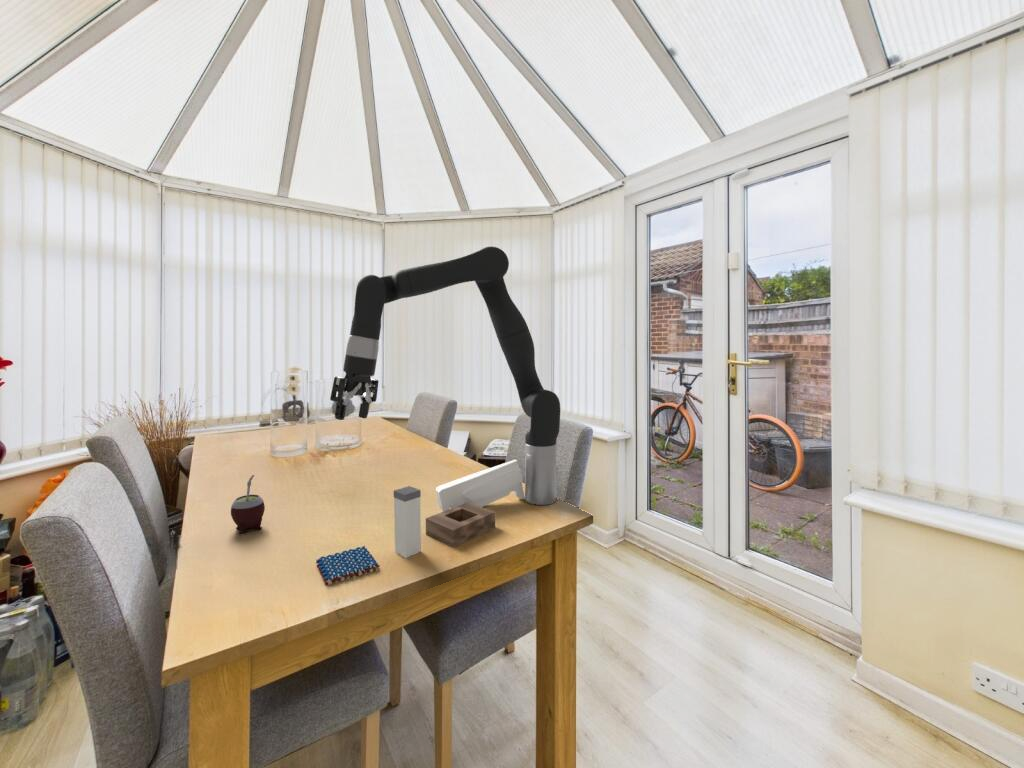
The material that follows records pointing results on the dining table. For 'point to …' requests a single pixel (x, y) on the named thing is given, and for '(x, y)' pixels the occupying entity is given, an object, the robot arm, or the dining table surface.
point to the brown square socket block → (460, 524)
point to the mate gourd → (248, 511)
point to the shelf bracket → (482, 487)
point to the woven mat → (346, 564)
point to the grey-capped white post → (407, 521)
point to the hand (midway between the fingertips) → (351, 418)
